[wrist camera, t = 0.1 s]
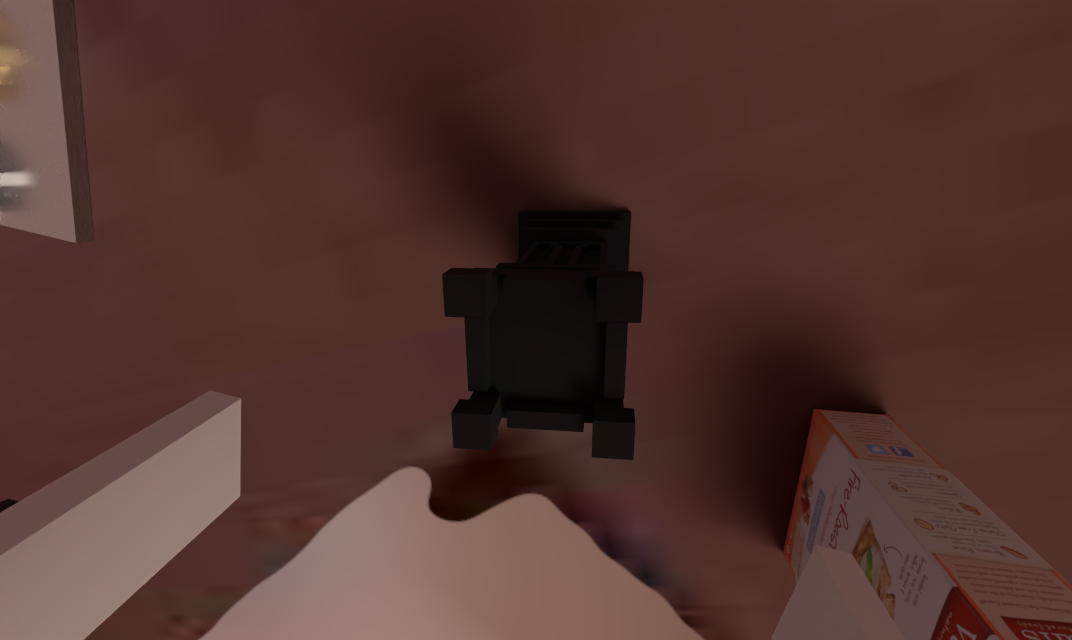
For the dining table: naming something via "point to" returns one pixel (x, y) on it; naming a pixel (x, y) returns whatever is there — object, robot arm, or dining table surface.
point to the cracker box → (919, 537)
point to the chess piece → (550, 332)
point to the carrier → (42, 122)
